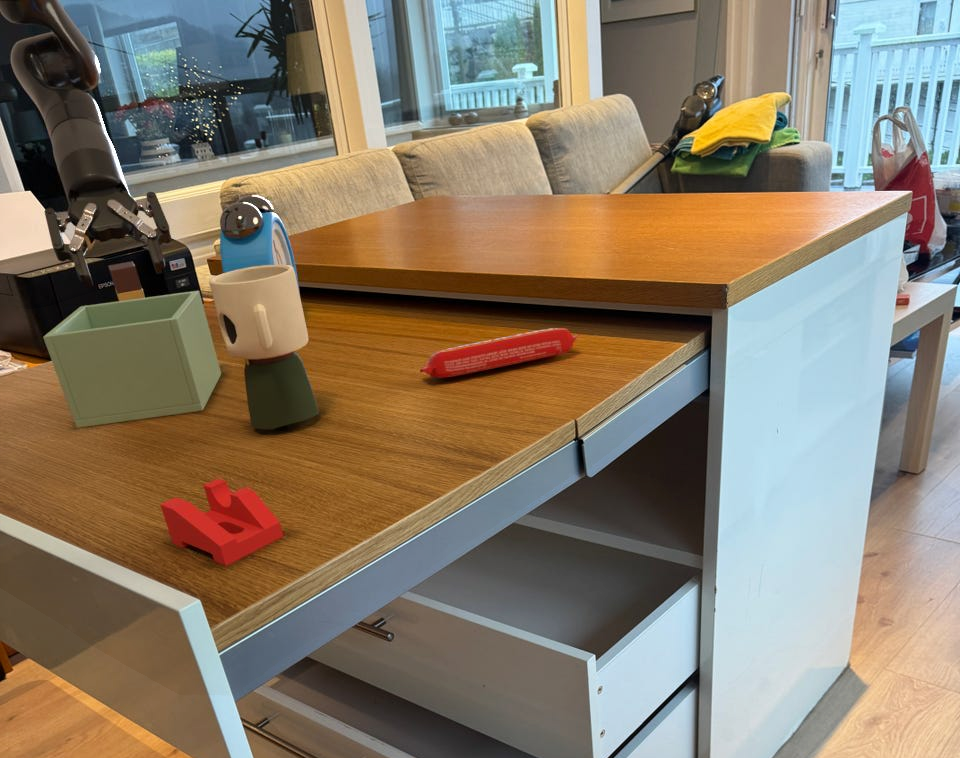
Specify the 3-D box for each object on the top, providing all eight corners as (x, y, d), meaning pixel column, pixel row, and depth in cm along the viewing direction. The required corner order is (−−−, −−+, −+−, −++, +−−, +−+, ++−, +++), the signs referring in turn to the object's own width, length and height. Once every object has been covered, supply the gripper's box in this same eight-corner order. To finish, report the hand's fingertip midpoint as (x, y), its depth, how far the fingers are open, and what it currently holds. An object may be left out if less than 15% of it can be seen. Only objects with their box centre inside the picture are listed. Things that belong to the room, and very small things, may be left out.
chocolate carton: (130, 338, 117) (107, 265, 112) (154, 333, 118) (133, 261, 113) (133, 345, 114) (109, 270, 109) (158, 340, 114) (135, 266, 110)
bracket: (173, 543, 63) (160, 504, 61) (229, 516, 66) (218, 478, 64) (225, 565, 59) (213, 524, 57) (283, 536, 62) (273, 496, 60)
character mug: (246, 412, 86) (209, 268, 79) (320, 398, 87) (290, 256, 80) (248, 450, 77) (206, 293, 70) (330, 435, 78) (297, 278, 71)
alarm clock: (289, 341, 107) (258, 203, 98) (238, 347, 107) (203, 210, 99) (306, 314, 118) (280, 188, 109) (260, 319, 118) (230, 194, 110)
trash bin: (76, 428, 87) (42, 336, 83) (108, 389, 98) (80, 306, 93) (202, 411, 88) (176, 318, 83) (221, 374, 98) (199, 290, 93)
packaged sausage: (569, 348, 92) (567, 318, 90) (583, 357, 89) (582, 326, 87) (419, 379, 89) (414, 348, 87) (429, 389, 86) (424, 357, 84)
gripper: (22, 155, 110) (57, 267, 107) (140, 137, 114) (177, 245, 111) (39, 198, 117) (72, 305, 114) (150, 181, 121) (185, 283, 118)
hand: (124, 275), depth 113 cm, fingers open, 8 cm apart
